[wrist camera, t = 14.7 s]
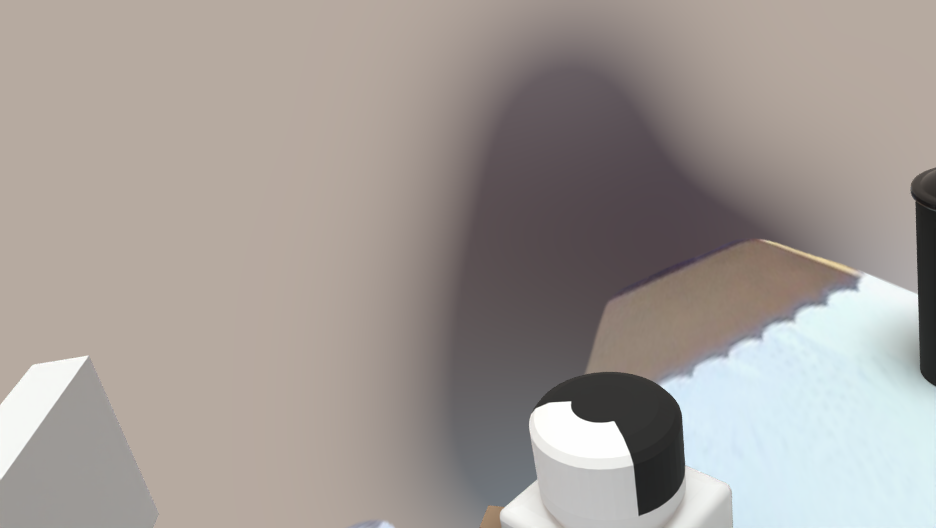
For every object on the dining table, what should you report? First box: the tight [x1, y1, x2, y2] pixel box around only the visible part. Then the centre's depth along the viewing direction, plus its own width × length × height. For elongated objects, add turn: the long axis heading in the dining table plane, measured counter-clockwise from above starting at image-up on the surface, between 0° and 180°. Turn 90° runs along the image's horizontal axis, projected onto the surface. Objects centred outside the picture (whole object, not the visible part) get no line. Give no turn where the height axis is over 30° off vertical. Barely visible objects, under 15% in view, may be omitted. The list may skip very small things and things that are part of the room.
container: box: [500, 372, 733, 528], centre depth 38 cm, size 8×8×13 cm
